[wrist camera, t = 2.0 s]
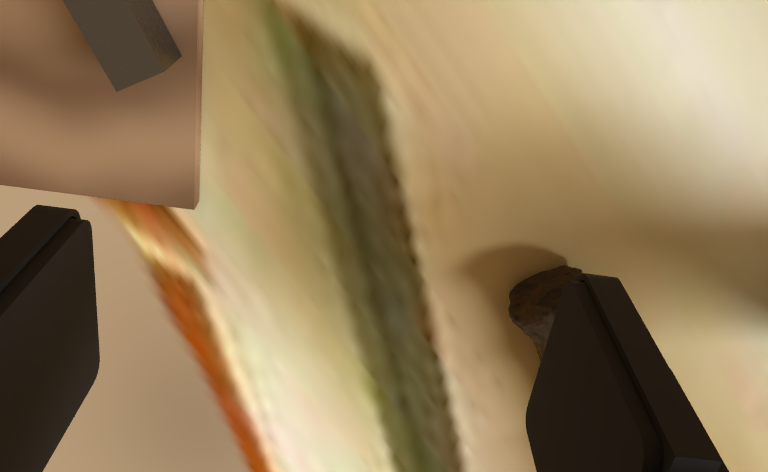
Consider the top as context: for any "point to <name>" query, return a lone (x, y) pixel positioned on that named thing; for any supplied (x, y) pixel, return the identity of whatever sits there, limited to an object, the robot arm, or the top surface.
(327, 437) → the top surface
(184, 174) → the tongs board
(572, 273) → the hand tool
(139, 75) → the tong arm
